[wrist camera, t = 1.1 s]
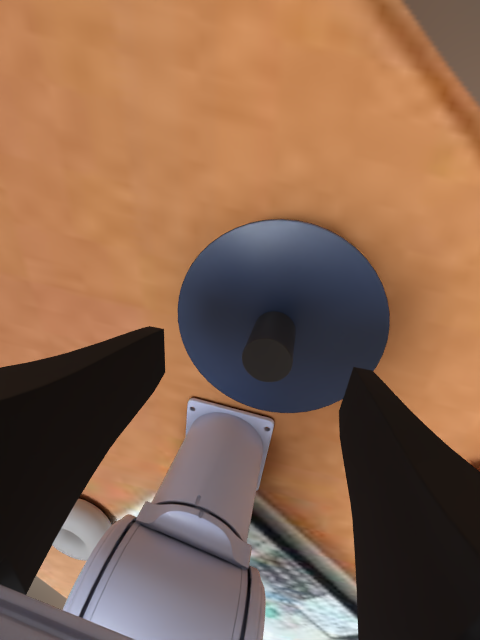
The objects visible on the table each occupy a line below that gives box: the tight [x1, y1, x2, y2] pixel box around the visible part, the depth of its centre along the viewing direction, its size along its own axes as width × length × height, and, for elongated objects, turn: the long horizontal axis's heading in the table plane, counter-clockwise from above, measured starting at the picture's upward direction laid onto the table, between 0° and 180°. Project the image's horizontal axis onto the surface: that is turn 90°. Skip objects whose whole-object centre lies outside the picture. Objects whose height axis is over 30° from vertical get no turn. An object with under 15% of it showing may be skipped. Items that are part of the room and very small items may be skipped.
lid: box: [178, 219, 389, 413], centre depth 15 cm, size 12×12×5 cm
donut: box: [52, 498, 112, 561], centre depth 37 cm, size 10×4×10 cm
